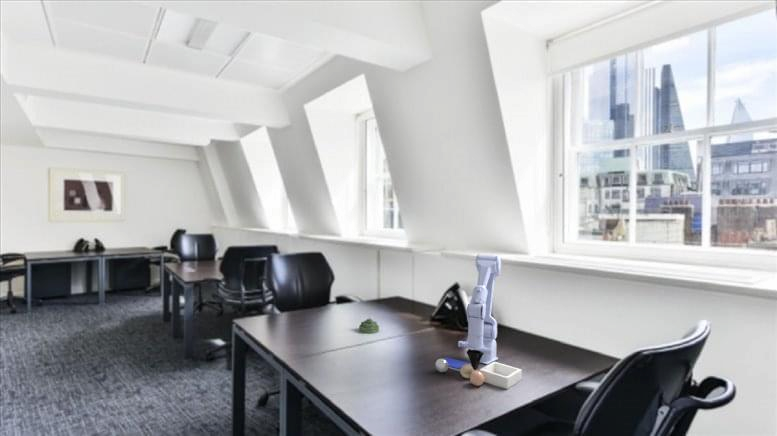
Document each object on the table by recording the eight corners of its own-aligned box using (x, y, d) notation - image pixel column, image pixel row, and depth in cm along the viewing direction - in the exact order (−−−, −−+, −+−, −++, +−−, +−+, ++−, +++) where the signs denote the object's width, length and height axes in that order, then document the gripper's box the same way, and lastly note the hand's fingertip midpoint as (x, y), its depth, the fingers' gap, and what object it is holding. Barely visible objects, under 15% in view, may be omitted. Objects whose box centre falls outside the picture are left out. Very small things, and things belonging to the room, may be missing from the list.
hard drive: (474, 363, 166) (447, 356, 174) (464, 369, 160) (437, 362, 167) (474, 367, 166) (447, 360, 174) (464, 373, 160) (437, 365, 167)
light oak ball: (464, 374, 158) (465, 361, 158) (476, 377, 155) (476, 364, 154) (457, 377, 154) (457, 364, 154) (469, 381, 151) (469, 368, 151)
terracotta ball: (474, 381, 152) (474, 367, 152) (486, 385, 148) (486, 371, 148) (467, 385, 148) (467, 371, 148) (479, 389, 145) (479, 375, 145)
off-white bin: (494, 371, 161) (494, 361, 161) (521, 380, 153) (521, 369, 153) (479, 380, 152) (479, 369, 152) (507, 389, 145) (507, 378, 145)
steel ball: (440, 368, 163) (440, 355, 163) (450, 371, 160) (451, 359, 160) (432, 371, 160) (432, 358, 159) (443, 375, 156) (443, 362, 156)
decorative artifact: (358, 333, 207) (378, 334, 207) (358, 319, 207) (378, 320, 207) (359, 328, 217) (378, 328, 217) (360, 314, 217) (379, 315, 217)
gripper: (454, 332, 162) (453, 366, 163) (487, 340, 153) (486, 377, 153) (463, 328, 168) (463, 362, 168) (496, 336, 158) (495, 371, 158)
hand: (474, 369), depth 161 cm, fingers closed
